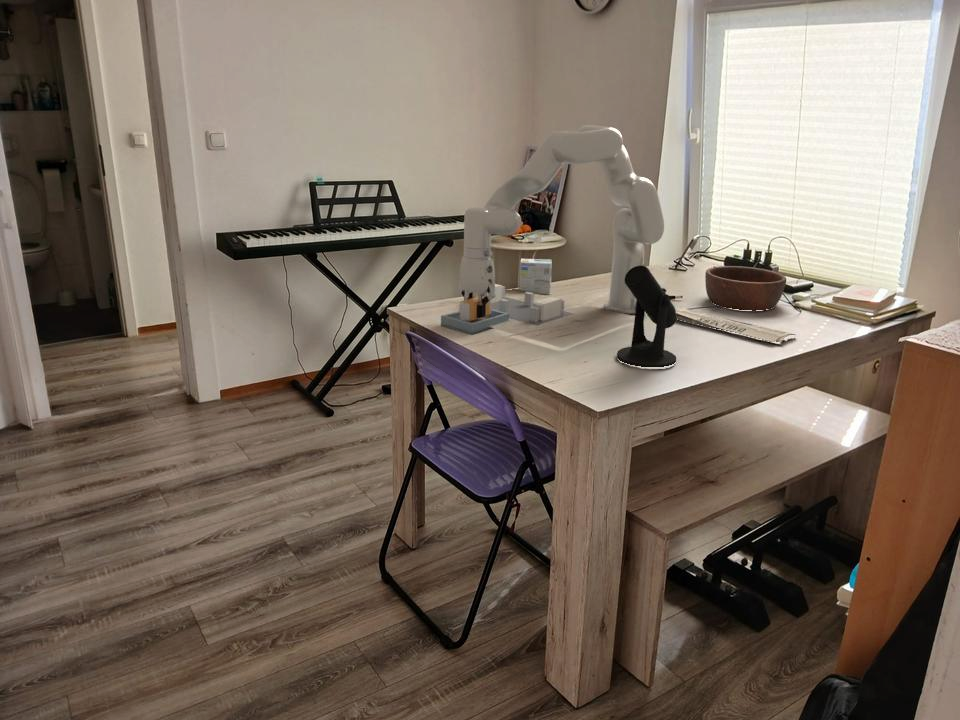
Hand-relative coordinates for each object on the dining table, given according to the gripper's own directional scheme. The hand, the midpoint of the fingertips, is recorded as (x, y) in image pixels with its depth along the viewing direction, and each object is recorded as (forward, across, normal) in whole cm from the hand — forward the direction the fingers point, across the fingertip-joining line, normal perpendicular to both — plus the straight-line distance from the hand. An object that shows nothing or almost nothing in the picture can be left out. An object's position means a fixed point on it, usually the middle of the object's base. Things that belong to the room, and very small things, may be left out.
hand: (475, 315), depth 221 cm
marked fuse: (0, 0, 0) cm, 0 cm away
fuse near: (+2, -12, -19) cm, 22 cm away
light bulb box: (+3, +12, -44) cm, 46 cm away
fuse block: (+3, 0, -19) cm, 19 cm away
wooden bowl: (+3, -45, -81) cm, 93 cm away
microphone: (+3, -51, -8) cm, 52 cm away
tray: (+3, 0, 0) cm, 3 cm away
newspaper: (+4, -54, -50) cm, 74 cm away
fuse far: (+2, +12, -19) cm, 22 cm away
